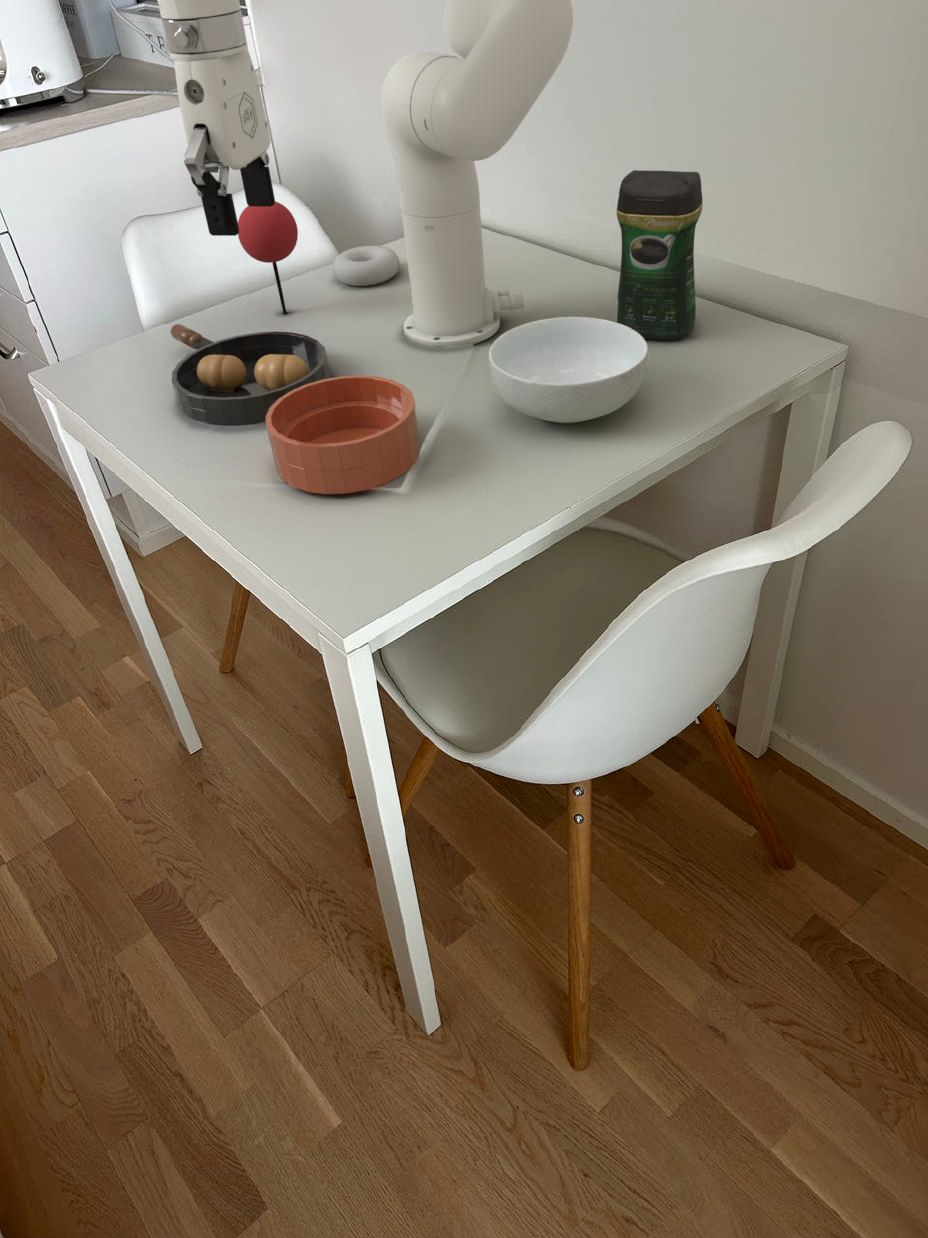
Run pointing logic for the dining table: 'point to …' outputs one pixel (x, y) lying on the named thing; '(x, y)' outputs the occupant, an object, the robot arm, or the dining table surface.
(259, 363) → the potato
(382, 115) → the robot arm
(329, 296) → the dining table surface
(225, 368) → the potato
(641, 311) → the coffee jar
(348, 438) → the bowl
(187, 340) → the skillet handle
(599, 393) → the cereal bowl
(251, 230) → the lollipop
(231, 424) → the skillet
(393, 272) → the donut
